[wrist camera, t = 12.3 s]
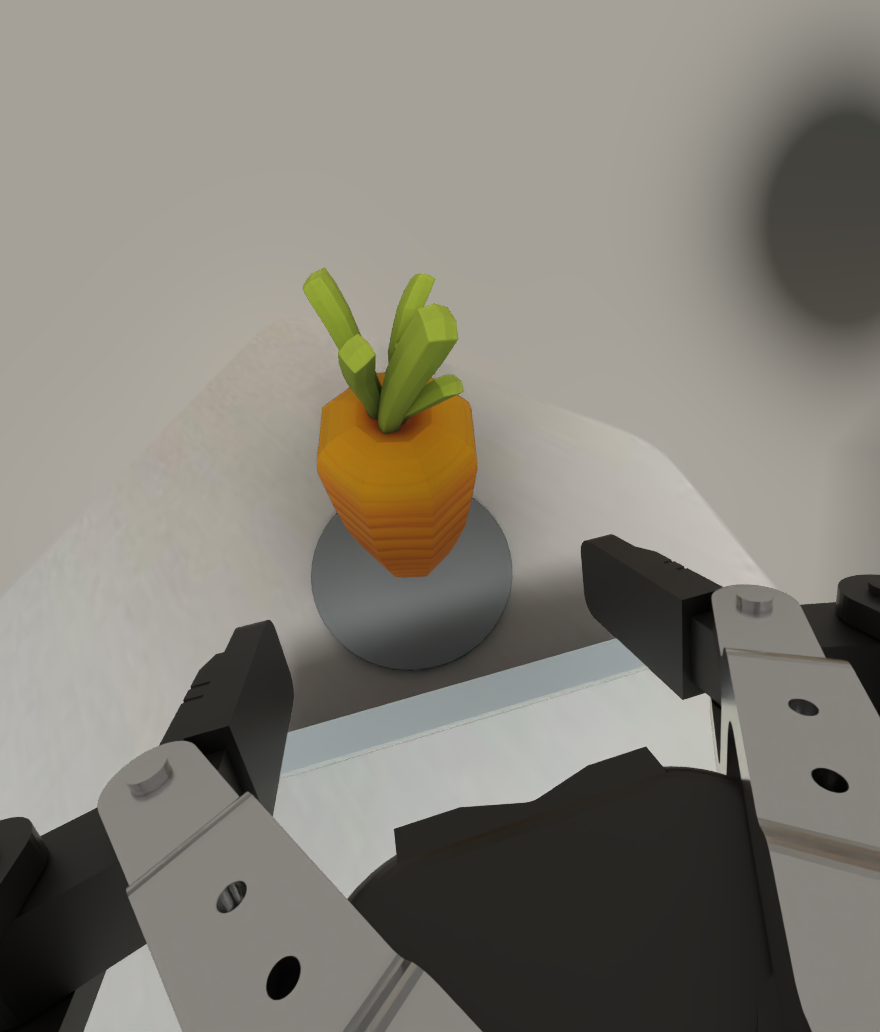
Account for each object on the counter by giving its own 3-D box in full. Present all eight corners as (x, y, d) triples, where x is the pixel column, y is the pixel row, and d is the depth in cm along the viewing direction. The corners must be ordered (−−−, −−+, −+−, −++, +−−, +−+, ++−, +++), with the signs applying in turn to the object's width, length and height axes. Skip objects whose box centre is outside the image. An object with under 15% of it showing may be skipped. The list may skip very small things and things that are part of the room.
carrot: (350, 545, 22) (224, 251, 9) (438, 509, 24) (437, 197, 10) (386, 634, 20) (290, 415, 7) (481, 590, 21) (550, 328, 8)
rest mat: (328, 696, 19) (326, 695, 19) (302, 506, 24) (300, 502, 24) (540, 637, 21) (542, 635, 20) (477, 467, 25) (477, 463, 25)
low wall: (289, 776, 18) (253, 782, 15) (286, 744, 19) (251, 742, 15) (643, 670, 20) (687, 652, 17) (631, 644, 21) (671, 622, 17)
